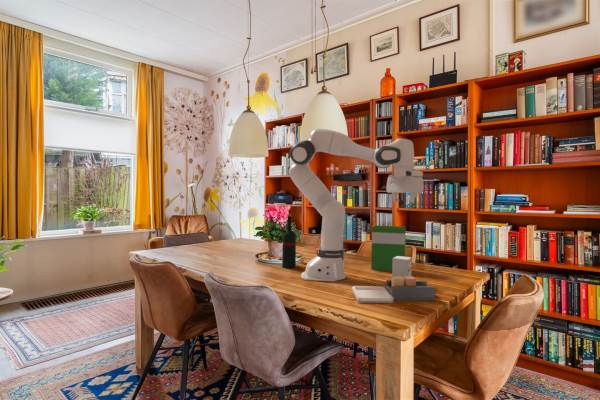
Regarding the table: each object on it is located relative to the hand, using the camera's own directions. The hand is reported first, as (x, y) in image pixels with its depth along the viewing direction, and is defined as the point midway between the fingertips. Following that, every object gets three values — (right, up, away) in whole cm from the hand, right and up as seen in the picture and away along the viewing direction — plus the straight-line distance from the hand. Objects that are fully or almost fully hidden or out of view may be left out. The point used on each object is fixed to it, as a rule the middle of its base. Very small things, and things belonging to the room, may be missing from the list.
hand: (403, 202), depth 159 cm
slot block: (-4, -39, -19) cm, 44 cm away
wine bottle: (-55, -37, +34) cm, 75 cm away
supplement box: (-1, -39, 0) cm, 39 cm away
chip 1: (-9, -35, -19) cm, 41 cm away
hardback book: (0, -38, +29) cm, 48 cm away
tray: (-19, -39, -19) cm, 47 cm away
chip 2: (-4, -35, -19) cm, 40 cm away
